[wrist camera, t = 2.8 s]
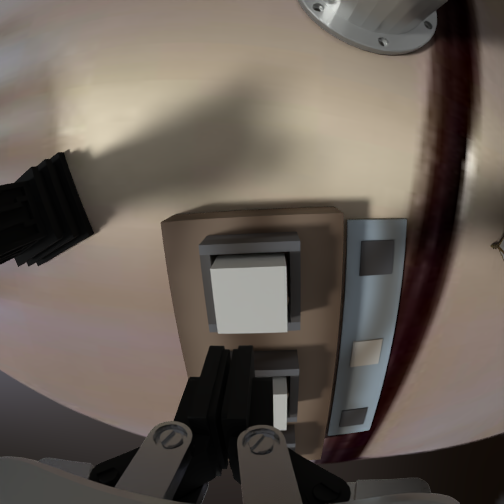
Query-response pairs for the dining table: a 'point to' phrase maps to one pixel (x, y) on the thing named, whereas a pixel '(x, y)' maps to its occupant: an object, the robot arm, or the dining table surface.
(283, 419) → the button middle
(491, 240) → the dining table surface
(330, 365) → the board
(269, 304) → the button
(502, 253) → the game die
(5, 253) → the chess piece
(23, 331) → the dining table surface
